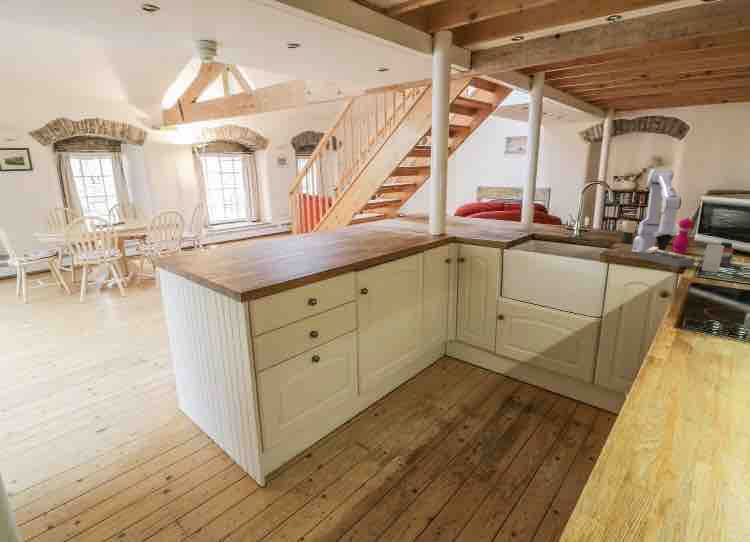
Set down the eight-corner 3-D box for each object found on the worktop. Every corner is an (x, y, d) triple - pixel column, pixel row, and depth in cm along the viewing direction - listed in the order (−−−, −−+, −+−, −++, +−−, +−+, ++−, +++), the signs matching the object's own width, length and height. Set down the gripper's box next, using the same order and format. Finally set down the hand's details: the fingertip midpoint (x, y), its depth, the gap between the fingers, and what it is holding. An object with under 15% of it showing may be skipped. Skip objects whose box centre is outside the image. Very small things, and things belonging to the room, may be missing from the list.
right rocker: (668, 253, 198) (669, 251, 198) (675, 255, 201) (676, 253, 200) (674, 254, 195) (675, 252, 195) (681, 257, 198) (682, 255, 198)
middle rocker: (657, 251, 203) (657, 249, 202) (663, 253, 205) (664, 251, 205) (662, 252, 200) (663, 250, 200) (669, 254, 203) (670, 252, 203)
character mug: (633, 242, 254) (637, 221, 251) (638, 244, 248) (642, 222, 244) (614, 240, 256) (617, 220, 253) (618, 243, 249) (622, 221, 246)
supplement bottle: (713, 263, 204) (719, 241, 201) (729, 265, 201) (735, 242, 198) (713, 265, 200) (719, 242, 197) (729, 267, 196) (735, 244, 193)
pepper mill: (687, 254, 223) (695, 217, 218) (671, 252, 227) (679, 216, 222) (687, 252, 228) (695, 216, 223) (671, 250, 233) (679, 215, 227)
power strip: (636, 258, 211) (638, 250, 210) (651, 256, 216) (653, 248, 215) (678, 267, 194) (680, 259, 193) (693, 265, 199) (695, 257, 198)
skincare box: (718, 271, 189) (725, 245, 186) (717, 273, 186) (724, 247, 182) (701, 268, 193) (708, 243, 190) (700, 270, 190) (706, 244, 187)
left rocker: (645, 251, 208) (645, 249, 208) (653, 248, 210) (653, 246, 210) (651, 253, 206) (651, 251, 205) (659, 249, 208) (659, 247, 207)
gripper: (666, 224, 191) (660, 252, 195) (685, 223, 197) (679, 250, 201) (651, 222, 198) (645, 249, 201) (669, 220, 204) (664, 247, 207)
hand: (661, 249), depth 202 cm, fingers closed
